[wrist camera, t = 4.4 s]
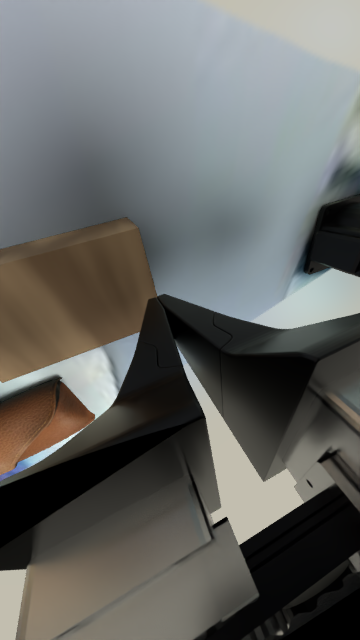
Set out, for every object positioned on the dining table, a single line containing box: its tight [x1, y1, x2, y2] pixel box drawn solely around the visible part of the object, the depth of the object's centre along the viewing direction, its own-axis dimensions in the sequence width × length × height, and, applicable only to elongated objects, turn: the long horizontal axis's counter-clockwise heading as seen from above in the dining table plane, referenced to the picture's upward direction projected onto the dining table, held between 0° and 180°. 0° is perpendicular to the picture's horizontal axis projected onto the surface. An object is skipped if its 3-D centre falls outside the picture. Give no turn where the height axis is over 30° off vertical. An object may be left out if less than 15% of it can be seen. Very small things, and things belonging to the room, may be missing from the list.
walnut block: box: [0, 217, 157, 383], centre depth 12 cm, size 4×6×10 cm
